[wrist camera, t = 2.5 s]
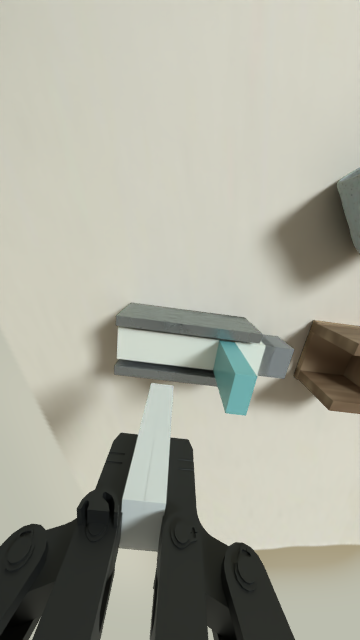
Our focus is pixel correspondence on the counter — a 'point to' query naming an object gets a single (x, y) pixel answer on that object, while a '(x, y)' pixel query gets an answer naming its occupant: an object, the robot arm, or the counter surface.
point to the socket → (332, 365)
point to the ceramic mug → (351, 203)
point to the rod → (211, 359)
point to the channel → (182, 324)
